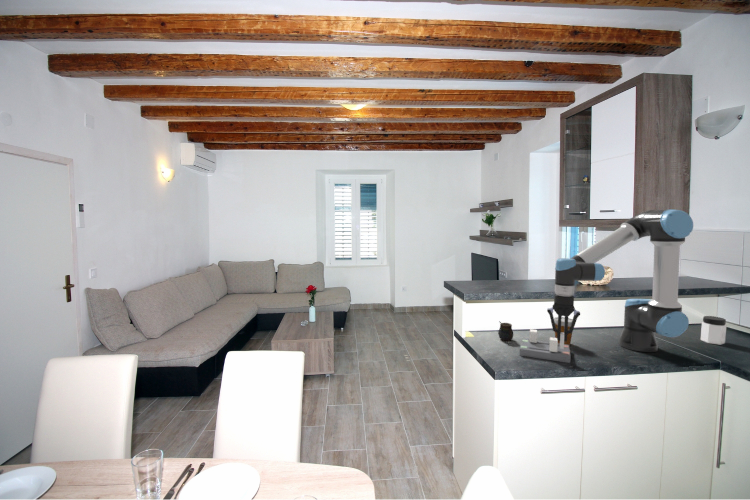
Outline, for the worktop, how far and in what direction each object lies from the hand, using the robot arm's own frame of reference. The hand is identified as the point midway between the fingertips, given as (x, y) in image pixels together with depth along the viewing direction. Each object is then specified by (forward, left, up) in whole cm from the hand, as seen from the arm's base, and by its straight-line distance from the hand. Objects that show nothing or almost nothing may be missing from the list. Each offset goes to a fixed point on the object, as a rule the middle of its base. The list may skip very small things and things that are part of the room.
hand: (561, 347), depth 158 cm
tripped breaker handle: (+3, 0, -2) cm, 4 cm away
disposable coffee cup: (-1, -23, -5) cm, 23 cm away
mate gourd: (+25, -17, -5) cm, 30 cm away
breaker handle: (+12, -9, -2) cm, 15 cm away
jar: (-68, -57, -5) cm, 89 cm away
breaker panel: (+7, -5, -5) cm, 10 cm away
